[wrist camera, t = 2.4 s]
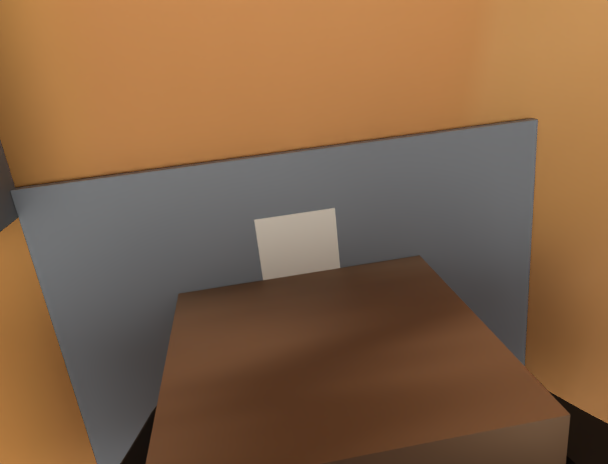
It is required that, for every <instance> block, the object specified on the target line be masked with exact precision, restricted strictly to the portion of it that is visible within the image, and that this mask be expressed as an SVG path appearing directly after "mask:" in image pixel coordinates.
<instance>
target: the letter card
mask: <svg viewBox="0 0 608 464" xmlns="http://www.w3.org/2000/svg"><path fill="white" fill-rule="evenodd" d="M537 126H538V120H537V119H533V118H531V119H524V120H516V121H509V122H501V123H494V124H486V125H479V126H471V127H464V128H457V129H449V130H442V131H434V132H427V133H419V134H412V135H404V136H397V137H390V138H382V139H375V140H367V141H360V142H352V143H345V144H337V145H330V146H323V147H315V148H308V149H300V150H293V151H285V152H278V153H270V154H263V155H256V156H248V157H241V158H233V159H226V160H218V161H211V162H203V163H196V164H189V165H181V166H174V167H166V168H159V169H151V170H144V171H136V172H129V173H122V174H114V175H107V176H99V177H92V178H84V179H77V180H69V181H62V182H55V183H47V184H40V185H32V186H25V187H17V188H13V189H12V190H10V192H11V195H12V198H13V201H14V205H15V208H16V211H17V214H18V217H19V220H20V223H21V227H22V230H23V233H24V236H25V239H26V242H27V245H28V248H29V252H30V255H31V258H32V261H33V264H34V267H35V270H36V274H37V277H38V280H39V283H40V286H41V289H42V292H43V296H44V299H45V302H46V305H47V308H48V311H49V314H50V317H51V321H52V324H53V327H54V330H55V333H56V336H57V339H58V343H59V346H60V349H61V352H62V355H63V358H64V361H65V365H66V368H67V371H68V374H69V377H70V380H71V383H72V386H73V390H74V393H75V396H76V399H77V402H78V405H79V408H80V412H81V415H82V418H83V421H84V424H85V427H86V430H87V434H88V437H89V440H90V443H91V446H92V449H93V452H94V455H95V459H96V462H97V464H120V463H121V462H122V460H123V458H124V457H125V455H126V454H127V452H128V450H129V449H130V447H131V446H132V444H133V442H134V441H135V439H136V437H137V436H138V434H139V432H140V431H141V429H142V427H143V426H144V424H145V422H146V421H147V419H148V417H149V416H150V414H151V412H152V411H153V410H154V408H155V407H156V406H157V402H158V397H159V392H160V387H161V382H162V377H163V371H164V366H165V361H166V356H167V351H168V346H169V340H170V335H171V330H172V325H173V320H174V315H175V309H176V304H177V299H178V294H180V293H186V292H192V291H199V290H205V289H211V288H218V287H224V286H230V285H236V284H243V283H249V282H255V281H262V280H268V279H274V278H281V277H287V276H293V275H299V274H306V273H312V272H318V271H325V270H331V269H337V268H343V267H350V266H356V265H362V264H369V263H375V262H381V261H388V260H394V259H400V258H406V257H413V256H419V255H420V256H421V257H422V258H423V259H424V261H425V262H426V263H427V264H428V265H429V266H430V267H431V268H432V269H433V270H434V271H435V272H436V273H437V274H438V275H439V276H440V277H441V278H442V280H443V281H444V282H445V283H446V284H447V285H448V286H449V287H450V288H451V289H452V290H453V291H454V292H455V293H456V294H457V295H458V296H459V297H460V299H461V300H462V301H463V302H464V303H465V304H466V305H467V306H468V307H469V308H470V309H471V310H472V311H473V312H474V313H475V314H476V315H477V316H478V318H479V319H480V320H481V321H482V322H483V323H484V324H485V325H486V326H487V327H488V328H489V329H490V330H491V331H492V332H493V333H494V334H495V336H496V337H497V338H498V339H499V340H500V341H501V342H502V343H503V344H504V345H505V346H506V347H507V348H508V349H509V350H510V351H511V352H512V353H513V355H514V356H515V357H516V358H517V359H518V360H519V361H520V362H521V363H522V364H523V365H524V366H525V350H526V331H527V312H528V294H529V275H530V256H531V238H532V219H533V200H534V182H535V163H536V144H537Z"/></svg>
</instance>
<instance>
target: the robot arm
mask: <svg viewBox="0 0 608 464" xmlns="http://www.w3.org/2000/svg"><path fill="white" fill-rule="evenodd" d="M549 393H550V394H551V395H552V396H553V397H554V398H555V399H556V400H557V401H558V402H559V403H560V404H561V405H562V406H563V407H564V408H565V409H566V410H567V412H568V413H569V414H570V424H569V435H568V445H567V456H566V464H608V424H607V423H605V422H604V421H602V420H600V419H598V418H596V417H594V416H592V415H590V414H588V413H587V412H585V411H583V410H581V409H579V408H577V407H575V406H574V405H572V404H570V403H568V402H566V401H565V400H563V399H561V398H559V397H558V396H556V395H554V394H552V393H551V392H549ZM156 408H157V406H156V407H155V408H154V410H153V411H152V412H151V414H150V416H149V417H148V419H147V421H146V422H145V424H144V426H143V427H142V429H141V431H140V432H139V434H138V436H137V437H136V439H135V441H134V442H133V444H132V446H131V447H130V449H129V450H128V452H127V454H126V455H125V457H124V458H123V460H122V462H121V463H120V464H146V459H147V454H148V449H149V444H150V439H151V433H152V428H153V423H154V418H155V413H156Z"/></svg>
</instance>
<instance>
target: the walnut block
mask: <svg viewBox="0 0 608 464" xmlns="http://www.w3.org/2000/svg"><path fill="white" fill-rule="evenodd" d="M569 424H570V414H569V413H568V412H567V410H566V409H565V408H564V407H563V406H562V405H561V404H560V403H559V402H558V401H557V400H556V399H555V398H554V397H553V396H552V395H551V394H550V393H549V391H548V390H547V389H546V388H545V387H544V386H543V385H542V384H541V383H540V382H539V381H538V380H537V379H536V378H535V377H534V376H533V375H532V374H531V372H530V371H529V370H528V369H527V368H526V367H525V366H524V365H523V364H522V363H521V362H520V361H519V360H518V359H517V358H516V357H515V356H514V355H513V353H512V352H511V351H510V350H509V349H508V348H507V347H506V346H505V345H504V344H503V343H502V342H501V341H500V340H499V339H498V338H497V337H496V336H495V334H494V333H493V332H492V331H491V330H490V329H489V328H488V327H487V326H486V325H485V324H484V323H483V322H482V321H481V320H480V319H479V318H478V316H477V315H476V314H475V313H474V312H473V311H472V310H471V309H470V308H469V307H468V306H467V305H466V304H465V303H464V302H463V301H462V300H461V299H460V297H459V296H458V295H457V294H456V293H455V292H454V291H453V290H452V289H451V288H450V287H449V286H448V285H447V284H446V283H445V282H444V281H443V280H442V278H441V277H440V276H439V275H438V274H437V273H436V272H435V271H434V270H433V269H432V268H431V267H430V266H429V265H428V264H427V263H426V262H425V261H424V259H423V258H422V257H421V256H420V255H419V256H413V257H406V258H400V259H394V260H388V261H381V262H375V263H369V264H362V265H356V266H350V267H343V268H337V269H331V270H325V271H318V272H312V273H306V274H299V275H293V276H287V277H281V278H274V279H268V280H262V281H255V282H249V283H243V284H236V285H230V286H224V287H218V288H211V289H205V290H199V291H192V292H186V293H180V294H178V299H177V304H176V309H175V315H174V320H173V325H172V330H171V335H170V340H169V346H168V351H167V356H166V361H165V366H164V371H163V377H162V382H161V387H160V392H159V397H158V402H157V408H156V413H155V418H154V423H153V428H152V433H151V439H150V444H149V449H148V454H147V459H146V464H566V456H567V445H568V435H569Z"/></svg>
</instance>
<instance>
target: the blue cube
mask: <svg viewBox="0 0 608 464" xmlns="http://www.w3.org/2000/svg"><path fill="white" fill-rule="evenodd" d="M13 188H15V185H14V182H13V179H12V176H11V173H10V169H9V166H8V163H7V160H6V157H5V153H4V150H3V147H2V144H1V141H0V232H1V231H2V230H3V229H4V228H6V227H7V226H8V225H9V224H11V223H12V222H13V221H14V220H16V219H17V218H18V214H17V211H16V208H15V205H14V201H13V198H12V195H11V192H10V190H12V189H13Z"/></svg>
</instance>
